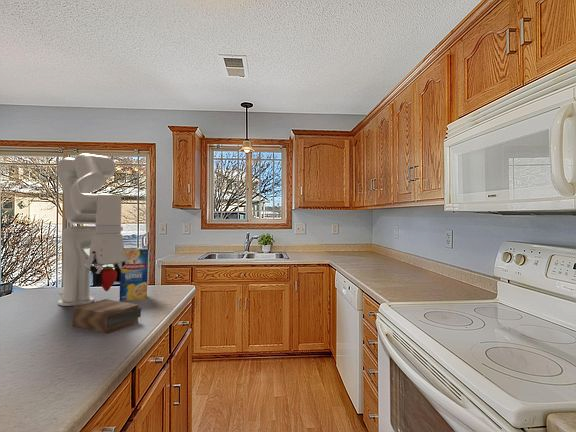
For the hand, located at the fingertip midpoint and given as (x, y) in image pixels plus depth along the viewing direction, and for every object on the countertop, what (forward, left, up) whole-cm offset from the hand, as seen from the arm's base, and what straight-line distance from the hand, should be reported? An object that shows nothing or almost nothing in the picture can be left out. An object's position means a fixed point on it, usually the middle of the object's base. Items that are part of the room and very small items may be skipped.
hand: (107, 283), depth 110 cm
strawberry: (0, 0, -3) cm, 3 cm away
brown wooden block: (0, 0, -14) cm, 14 cm away
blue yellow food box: (-20, +29, -14) cm, 38 cm away
